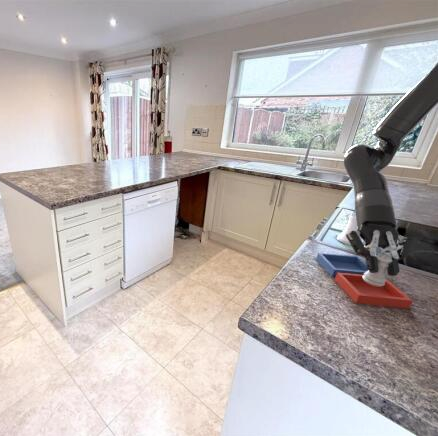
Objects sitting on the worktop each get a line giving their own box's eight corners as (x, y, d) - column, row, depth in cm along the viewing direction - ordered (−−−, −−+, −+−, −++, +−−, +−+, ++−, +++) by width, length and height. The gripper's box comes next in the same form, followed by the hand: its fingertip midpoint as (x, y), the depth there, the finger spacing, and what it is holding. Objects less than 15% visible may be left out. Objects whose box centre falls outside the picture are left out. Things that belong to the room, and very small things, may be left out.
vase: (341, 234, 96) (350, 211, 93) (365, 242, 91) (375, 217, 87) (333, 239, 92) (341, 215, 89) (357, 247, 87) (367, 222, 83)
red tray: (380, 284, 68) (383, 276, 67) (408, 308, 59) (413, 300, 58) (334, 279, 69) (337, 272, 68) (355, 303, 60) (359, 295, 60)
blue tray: (355, 262, 78) (357, 255, 77) (376, 281, 69) (379, 273, 68) (315, 259, 79) (318, 252, 78) (331, 276, 71) (334, 269, 70)
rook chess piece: (380, 279, 64) (392, 252, 61) (387, 289, 60) (400, 261, 57) (359, 274, 66) (370, 248, 63) (364, 284, 62) (376, 257, 59)
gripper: (351, 201, 64) (359, 266, 58) (417, 206, 61) (433, 276, 55) (336, 212, 71) (341, 272, 65) (394, 218, 68) (406, 281, 61)
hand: (383, 273), depth 60 cm, fingers closed on rook chess piece, 3 cm apart
